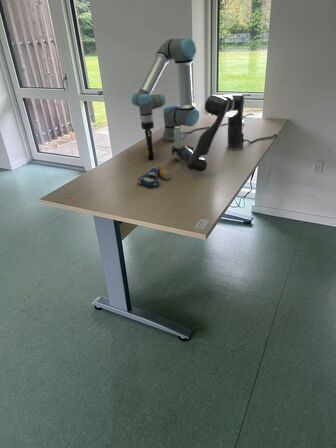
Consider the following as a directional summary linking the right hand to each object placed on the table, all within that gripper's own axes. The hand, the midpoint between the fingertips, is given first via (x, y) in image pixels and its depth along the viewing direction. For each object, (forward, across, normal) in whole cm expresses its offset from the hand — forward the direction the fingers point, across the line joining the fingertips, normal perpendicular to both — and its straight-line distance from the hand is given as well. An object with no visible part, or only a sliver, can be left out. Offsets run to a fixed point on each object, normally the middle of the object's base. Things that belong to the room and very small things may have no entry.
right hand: (177, 146), depth 210 cm
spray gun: (-29, +23, +7) cm, 37 cm away
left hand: (+6, +16, +6) cm, 19 cm away
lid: (+6, +16, +2) cm, 18 cm away
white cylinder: (-3, 0, +7) cm, 7 cm away
